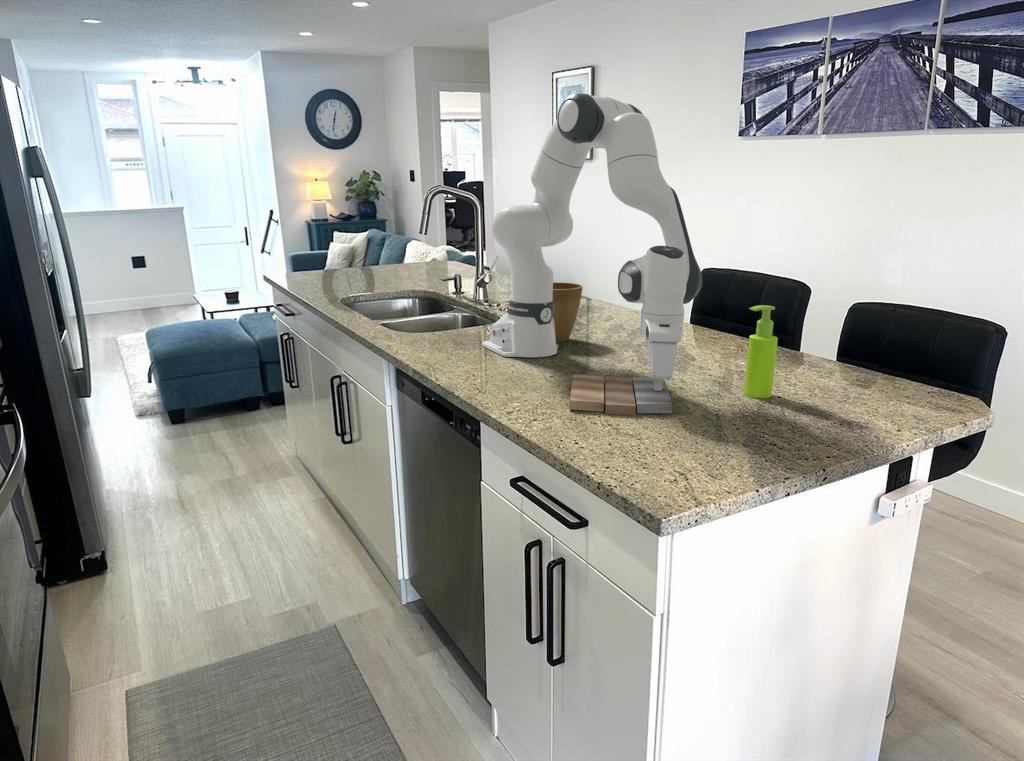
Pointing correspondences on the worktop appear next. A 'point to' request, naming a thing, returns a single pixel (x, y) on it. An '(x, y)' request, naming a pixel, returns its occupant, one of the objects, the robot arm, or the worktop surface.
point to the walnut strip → (619, 396)
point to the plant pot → (565, 308)
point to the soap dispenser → (761, 356)
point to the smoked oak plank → (587, 393)
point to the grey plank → (651, 397)
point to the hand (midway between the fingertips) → (657, 388)
